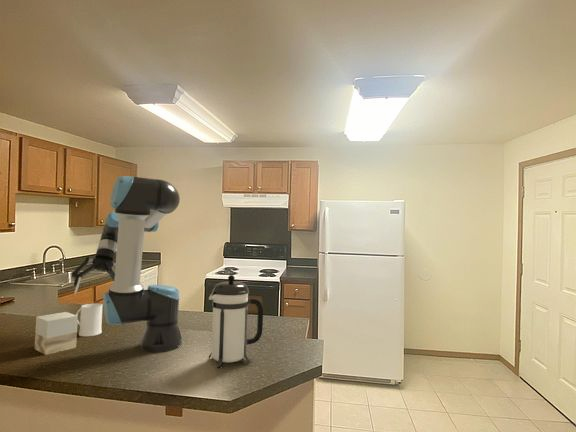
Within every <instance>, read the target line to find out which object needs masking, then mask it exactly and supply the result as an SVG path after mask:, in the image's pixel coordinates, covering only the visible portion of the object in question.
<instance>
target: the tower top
mask: <svg viewBox="0 0 576 432" xmlns="http://www.w3.org/2000/svg"><path fill="white" fill-rule="evenodd" d="M78 321H79V315H76V314H73V313H70V312H68V311H63V312H58V313H57V312H55V313H51V314H46V315H45V314H43V315H39V316H36V318H35V331H34V333H37V334H39V335H41V336H43V337H45V338H50V337H55V336H60V335H64V334H69V333H74V332H77V333H78V323H77V322H78Z"/></svg>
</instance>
